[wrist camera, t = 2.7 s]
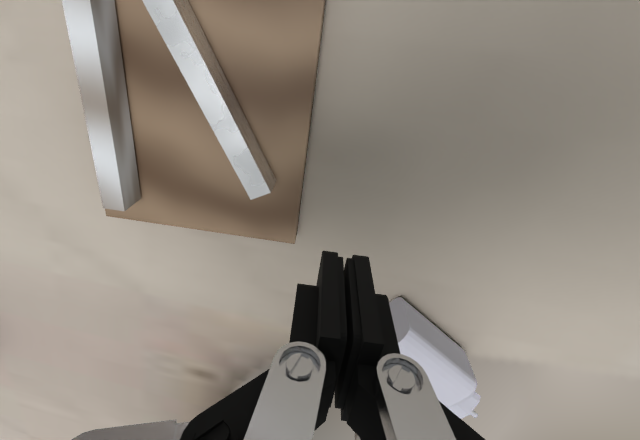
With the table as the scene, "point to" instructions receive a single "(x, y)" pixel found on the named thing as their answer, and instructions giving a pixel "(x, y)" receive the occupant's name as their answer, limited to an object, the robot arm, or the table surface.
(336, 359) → the robot arm
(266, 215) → the board
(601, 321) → the table surface
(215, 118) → the tong arm
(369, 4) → the table surface
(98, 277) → the table surface
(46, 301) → the table surface
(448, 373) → the charger
